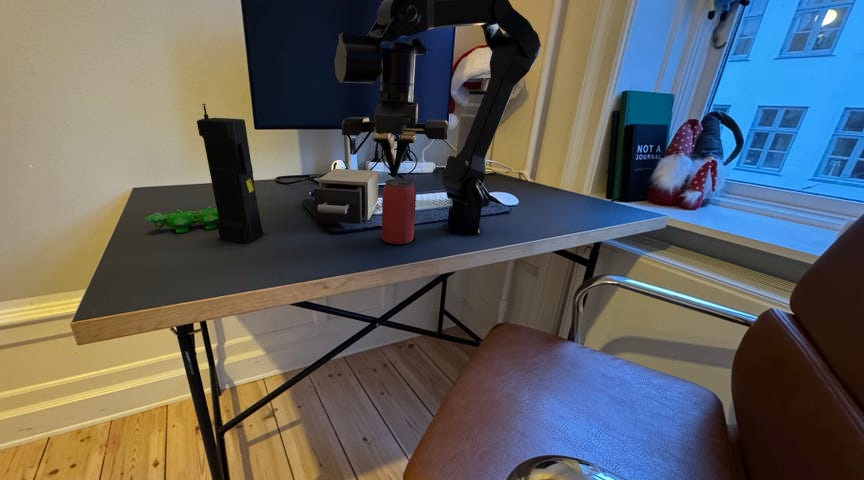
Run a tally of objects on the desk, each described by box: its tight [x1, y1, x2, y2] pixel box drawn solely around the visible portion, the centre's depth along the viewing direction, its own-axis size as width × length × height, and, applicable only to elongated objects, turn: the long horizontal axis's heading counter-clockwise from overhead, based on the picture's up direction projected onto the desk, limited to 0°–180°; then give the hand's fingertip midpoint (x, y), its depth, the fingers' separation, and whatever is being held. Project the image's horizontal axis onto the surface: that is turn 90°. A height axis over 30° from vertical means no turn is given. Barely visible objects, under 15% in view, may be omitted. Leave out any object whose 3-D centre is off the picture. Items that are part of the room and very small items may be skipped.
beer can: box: [381, 178, 417, 246], centre depth 73 cm, size 7×7×12 cm
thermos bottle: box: [455, 89, 489, 184], centre depth 95 cm, size 8×8×28 cm
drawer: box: [313, 183, 365, 225], centre depth 84 cm, size 16×10×7 cm, turn 170°
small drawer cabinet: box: [318, 168, 379, 222], centre depth 91 cm, size 13×12×9 cm
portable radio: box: [196, 103, 264, 244], centre depth 70 cm, size 8×6×25 cm
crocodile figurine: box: [144, 205, 219, 234], centre depth 79 cm, size 7×18×4 cm, turn 115°
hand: (394, 176), depth 70 cm, fingers closed
